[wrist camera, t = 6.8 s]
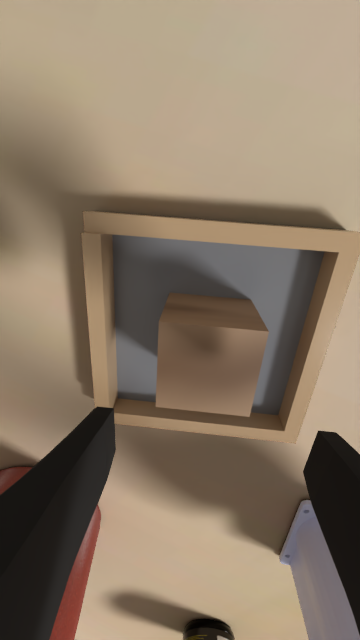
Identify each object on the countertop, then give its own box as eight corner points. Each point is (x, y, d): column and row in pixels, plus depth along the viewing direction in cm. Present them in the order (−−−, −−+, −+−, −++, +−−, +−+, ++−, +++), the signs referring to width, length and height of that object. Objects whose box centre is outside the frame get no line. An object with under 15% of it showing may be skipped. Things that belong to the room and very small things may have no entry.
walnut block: (238, 368, 18) (249, 416, 14) (165, 361, 18) (155, 406, 14) (251, 299, 16) (269, 331, 12) (169, 292, 16) (159, 321, 12)
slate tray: (287, 424, 20) (297, 448, 18) (106, 404, 20) (96, 426, 18) (347, 230, 14) (371, 233, 12) (95, 211, 15) (79, 211, 13)
